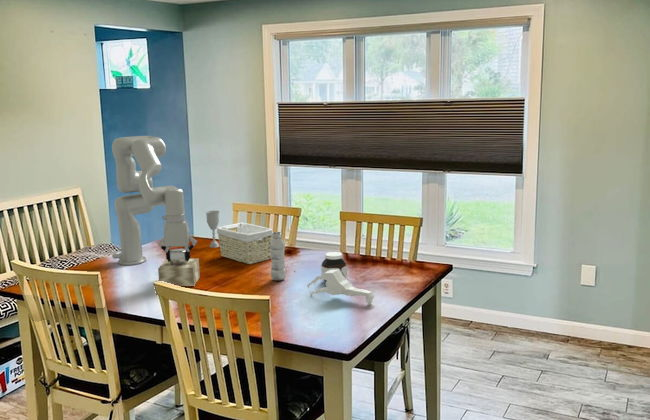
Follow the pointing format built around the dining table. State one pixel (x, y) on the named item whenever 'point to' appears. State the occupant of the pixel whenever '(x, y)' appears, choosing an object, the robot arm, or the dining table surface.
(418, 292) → the dining table surface
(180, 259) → the silver metal cylinder
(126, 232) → the robot arm
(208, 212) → the chalice
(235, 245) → the storage basket
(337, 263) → the spread jar
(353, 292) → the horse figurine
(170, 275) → the block
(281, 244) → the plastic bottle
